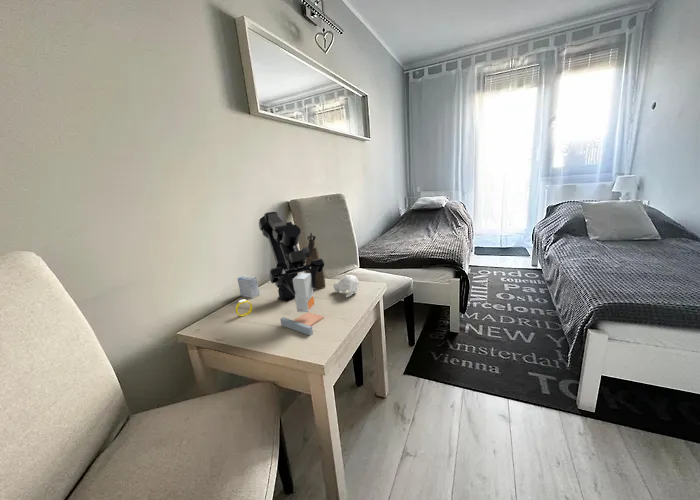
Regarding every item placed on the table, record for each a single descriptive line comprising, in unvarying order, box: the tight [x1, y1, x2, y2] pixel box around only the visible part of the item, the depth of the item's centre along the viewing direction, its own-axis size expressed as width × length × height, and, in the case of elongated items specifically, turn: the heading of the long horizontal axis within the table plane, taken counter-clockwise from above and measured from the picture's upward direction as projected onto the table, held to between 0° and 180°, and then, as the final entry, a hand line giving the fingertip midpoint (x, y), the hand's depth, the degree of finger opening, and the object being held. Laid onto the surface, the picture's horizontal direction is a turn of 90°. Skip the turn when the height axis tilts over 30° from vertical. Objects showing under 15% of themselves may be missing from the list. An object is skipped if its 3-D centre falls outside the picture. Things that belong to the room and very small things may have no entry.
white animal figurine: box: [333, 274, 360, 298], centre depth 121 cm, size 6×8×12 cm
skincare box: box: [293, 272, 316, 313], centre depth 99 cm, size 6×4×12 cm
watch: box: [235, 298, 253, 317], centre depth 111 cm, size 6×3×6 cm, turn 133°
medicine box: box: [237, 274, 261, 299], centre depth 130 cm, size 8×4×9 cm, turn 58°
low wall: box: [280, 316, 314, 336], centre depth 96 cm, size 1×14×2 cm, turn 52°
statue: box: [305, 232, 326, 290], centre depth 131 cm, size 9×8×25 cm
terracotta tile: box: [292, 311, 325, 327], centre depth 101 cm, size 8×8×1 cm
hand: (304, 291), depth 98 cm, fingers closed on skincare box, 7 cm apart
